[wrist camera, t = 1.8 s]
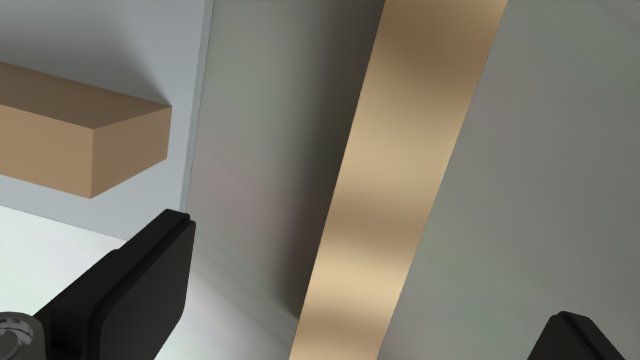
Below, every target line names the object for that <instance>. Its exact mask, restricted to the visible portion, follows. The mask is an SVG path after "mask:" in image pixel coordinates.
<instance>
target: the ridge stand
mask: <svg viewBox="0 0 640 360" xmlns="http://www.w3.org/2000/svg"><path fill="white" fill-rule="evenodd" d="M213 4H214V0H0V206H4V207H8V208H11V209H15V210H18V211H22V212H26V213H29V214H33V215H36V216H40V217H43V218H47V219H51V220H54V221H58V222H61V223H65V224H69V225H72V226H76V227H79V228H83V229H87V230H90V231H94V232H97V233H101V234H105V235H108V236H112V237H115V238H119V239H123V240H126V241H129V240H130V239H131V238H132V237H133V236H134V235H136V234H137V233H138V232H139V231H140V230H141V229H143V228H144V227H145V226H146V225H147V224H148V223H150V222H151V221H152V220H153V219H154V218H156V217H157V216H158V215H159V214H160V213H161V212H163V211H164V210H165V209H172V210H176V211H179V212H183V213H186V207H187V200H188V192H189V185H190V177H191V170H192V162H193V155H194V147H195V140H196V132H197V124H198V117H199V109H200V102H201V94H202V87H203V79H204V72H205V64H206V57H207V49H208V42H209V34H210V27H211V19H212V12H213Z"/></svg>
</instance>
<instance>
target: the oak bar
mask: <svg viewBox="0 0 640 360" xmlns="http://www.w3.org/2000/svg"><path fill="white" fill-rule="evenodd" d="M507 2H508V0H385V4H384V7H383V11H382V15H381V18H380V22H379V26H378V29H377V33H376V37H375V41H374V44H373V48H372V52H371V55H370V59H369V63H368V66H367V70H366V74H365V78H364V81H363V85H362V89H361V92H360V96H359V100H358V103H357V107H356V111H355V115H354V118H353V122H352V126H351V129H350V133H349V137H348V141H347V144H346V148H345V152H344V155H343V159H342V163H341V166H340V170H339V174H338V178H337V181H336V185H335V189H334V192H333V196H332V200H331V203H330V207H329V211H328V215H327V218H326V222H325V226H324V229H323V233H322V237H321V240H320V244H319V248H318V252H317V255H316V259H315V263H314V266H313V270H312V274H311V278H310V281H309V285H308V289H307V292H306V296H305V300H304V303H303V307H302V311H301V315H300V318H299V322H298V326H297V330H296V333H295V337H294V341H293V345H292V349H291V353H290V356H289V360H376V358H377V356H378V353H379V350H380V347H381V345H382V342H383V339H384V337H385V334H386V331H387V328H388V326H389V323H390V320H391V318H392V315H393V312H394V309H395V307H396V304H397V301H398V299H399V296H400V293H401V290H402V288H403V285H404V282H405V280H406V277H407V274H408V271H409V269H410V266H411V263H412V260H413V258H414V255H415V252H416V250H417V247H418V244H419V241H420V239H421V236H422V233H423V231H424V228H425V225H426V222H427V220H428V217H429V214H430V212H431V209H432V206H433V203H434V201H435V198H436V195H437V193H438V190H439V187H440V184H441V182H442V179H443V176H444V174H445V171H446V168H447V165H448V163H449V160H450V157H451V154H452V152H453V149H454V146H455V144H456V141H457V138H458V135H459V133H460V130H461V127H462V125H463V122H464V119H465V116H466V114H467V111H468V108H469V106H470V103H471V100H472V97H473V95H474V92H475V89H476V87H477V84H478V81H479V78H480V76H481V73H482V70H483V68H484V65H485V62H486V59H487V57H488V54H489V51H490V48H491V46H492V43H493V40H494V38H495V35H496V32H497V29H498V27H499V24H500V21H501V19H502V16H503V13H504V10H505V8H506V5H507Z"/></svg>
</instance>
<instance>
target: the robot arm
mask: <svg viewBox="0 0 640 360" xmlns="http://www.w3.org/2000/svg"><path fill="white" fill-rule="evenodd" d="M195 229H196V222H195V221H192V220H190V215H189V214H187V213H183V212H179V211H176V210H172V209H165V210H164V211H163V212H161V213H160V214H159V215H158V216H157V217H156V218H154V219H153V220H152V221H151V222H150V223H148V224H147V225H146V226H145V227H144V228H143V229H141V230H140V231H139V232H138V233H137V234H136V235H134V236H133V237H132V238H131V239H130V240H129V241H127V242H126V243H125V244H124V245H123V246H122V247H120V248H119V249H114V250H112V251H110V252H109V253H107V254H106V255H105V256H104V257H103V258H101V259H100V260H99V261H98V262H97V263H95V264H94V265H93V266H92V267H91V268H90V269H88V270H87V271H86V272H85V273H84V274H82V275H81V276H80V277H79V278H78V279H76V280H75V281H74V282H73V283H72V284H70V285H69V286H68V287H67V288H66V289H64V290H63V291H62V292H61V293H60V294H58V295H57V296H56V297H55V298H54V299H52V300H51V301H50V302H49V303H48V304H46V305H45V306H44V307H43V308H42V309H40V310H39V311H38V312H37V313H36V314H34V315H33V316H30V315H28V314H25V313H19V312H0V360H154V359H155V357H156V356H157V354H158V352H159V351H160V349H161V348H162V346H163V345H164V343H165V342H166V340H167V339H168V337H169V335H170V334H171V332H172V331H173V329H174V328H175V326H176V325H177V323H178V322H179V320H180V318H181V316H182V313H183V310H184V306H185V300H186V293H187V285H188V278H189V271H190V264H191V257H192V250H193V243H194V236H195ZM527 360H625V359H624V358H623V357H622V355H621V354H620V353H619V352H618V351H617V350H616V348H615V347H614V346H613V345H612V344H611V342H610V341H609V340H608V339H607V338H606V337H605V335H604V334H603V333H602V332H601V331H600V329H599V328H598V327H597V326H596V325H595V324H594V322H593V321H592V320H591V319H590V318H588V317H586V316H582V315H578V314H574V313H570V312H566V311H561V312H559V313H558V314H557V315H553V316H551V317H550V319H549V320H548V322H547V324H546V326H545V328H544V329H543V331H542V333H541V335H540V337H539V339H538V340H537V342H536V344H535V346H534V348H533V350H532V352H531V353H530V355H529V357H528V359H527Z"/></svg>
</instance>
